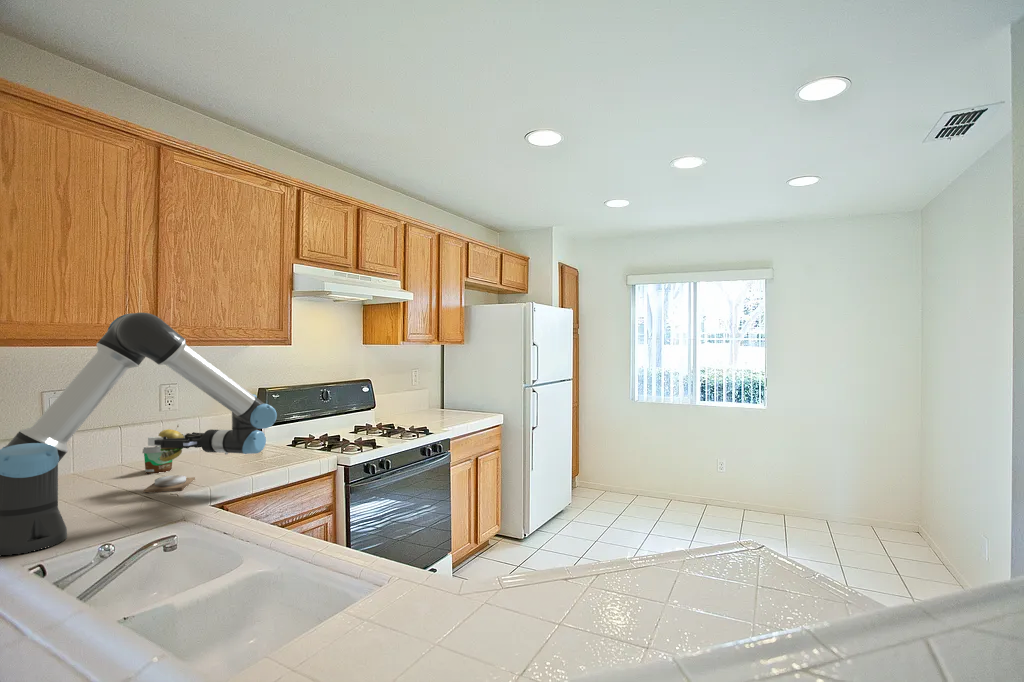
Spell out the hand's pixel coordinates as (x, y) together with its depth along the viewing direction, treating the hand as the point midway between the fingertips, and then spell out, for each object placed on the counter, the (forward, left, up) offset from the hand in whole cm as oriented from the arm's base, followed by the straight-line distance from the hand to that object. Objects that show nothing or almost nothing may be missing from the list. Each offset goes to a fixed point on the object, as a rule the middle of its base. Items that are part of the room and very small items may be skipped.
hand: (158, 439), depth 183 cm
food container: (-6, +22, -16) cm, 28 cm away
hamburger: (+5, -2, -7) cm, 9 cm away
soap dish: (+4, -2, -16) cm, 16 cm away
